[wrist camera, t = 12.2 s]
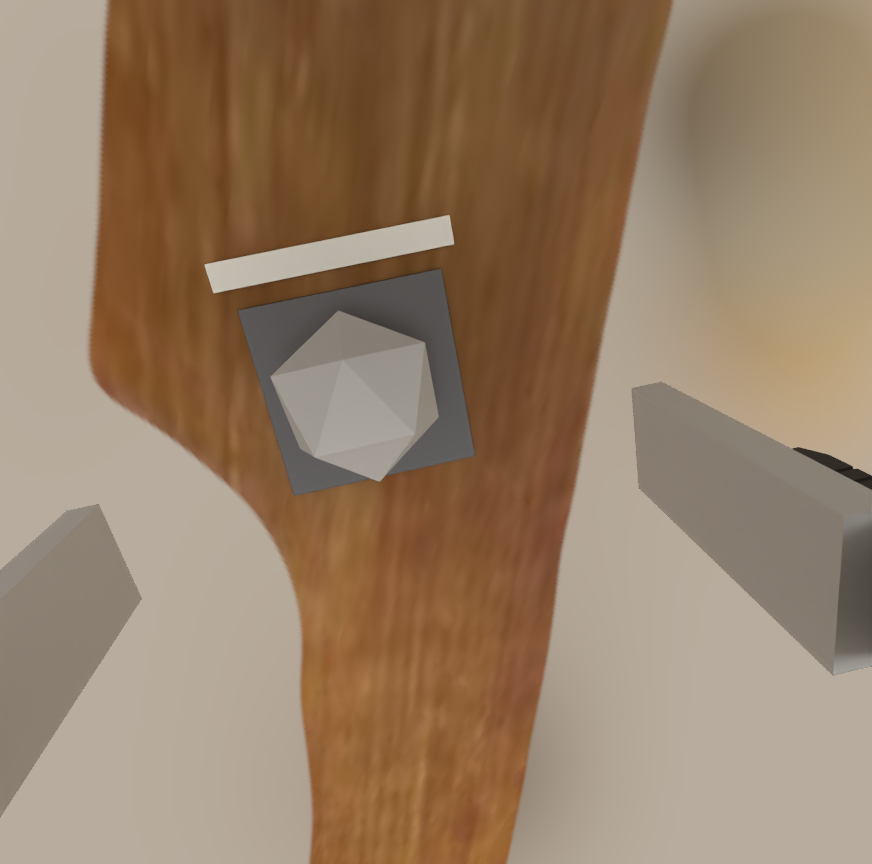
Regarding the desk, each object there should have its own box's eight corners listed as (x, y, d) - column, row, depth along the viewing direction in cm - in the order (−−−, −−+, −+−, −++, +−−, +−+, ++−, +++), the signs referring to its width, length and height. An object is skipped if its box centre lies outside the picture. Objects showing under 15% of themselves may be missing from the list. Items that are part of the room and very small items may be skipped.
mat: (448, 215, 32) (449, 215, 32) (488, 450, 37) (490, 453, 37) (206, 264, 32) (204, 264, 31) (279, 496, 36) (278, 499, 36)
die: (304, 455, 36) (396, 534, 30) (216, 370, 30) (310, 448, 24) (390, 366, 38) (493, 423, 32) (324, 268, 31) (437, 316, 25)
